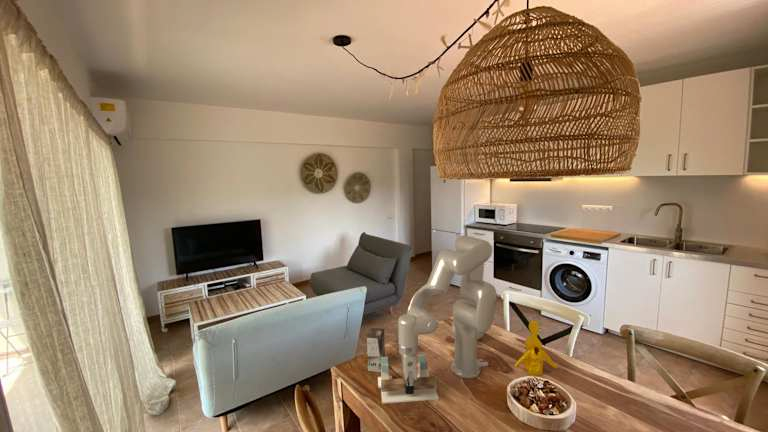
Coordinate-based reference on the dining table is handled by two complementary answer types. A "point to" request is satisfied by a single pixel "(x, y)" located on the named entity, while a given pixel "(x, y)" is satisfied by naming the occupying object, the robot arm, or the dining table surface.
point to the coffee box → (375, 349)
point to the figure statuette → (534, 352)
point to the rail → (400, 383)
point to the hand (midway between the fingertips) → (408, 389)
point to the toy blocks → (422, 366)
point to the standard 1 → (384, 371)
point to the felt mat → (409, 396)
